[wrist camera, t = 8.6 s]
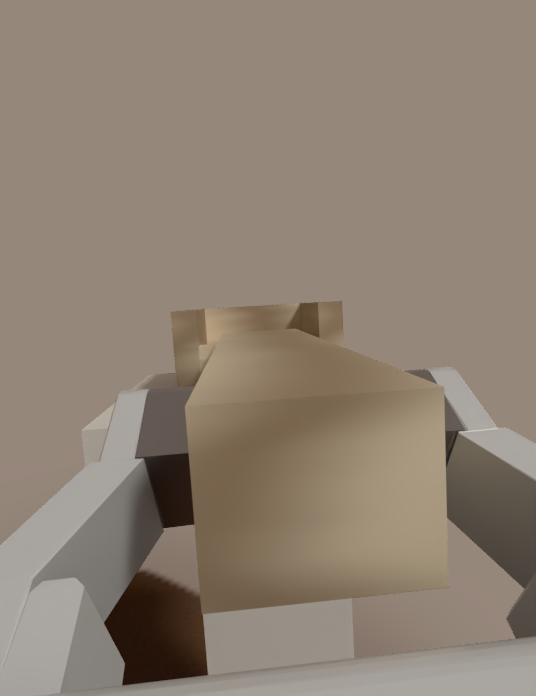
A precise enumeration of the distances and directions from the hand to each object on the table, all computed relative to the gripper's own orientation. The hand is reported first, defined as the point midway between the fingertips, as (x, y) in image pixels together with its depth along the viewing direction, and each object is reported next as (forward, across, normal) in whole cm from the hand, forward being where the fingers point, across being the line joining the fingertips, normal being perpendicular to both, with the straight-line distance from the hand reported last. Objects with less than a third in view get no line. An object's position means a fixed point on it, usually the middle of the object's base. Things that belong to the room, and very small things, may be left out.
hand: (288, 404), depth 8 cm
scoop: (+5, 0, -5) cm, 6 cm away
